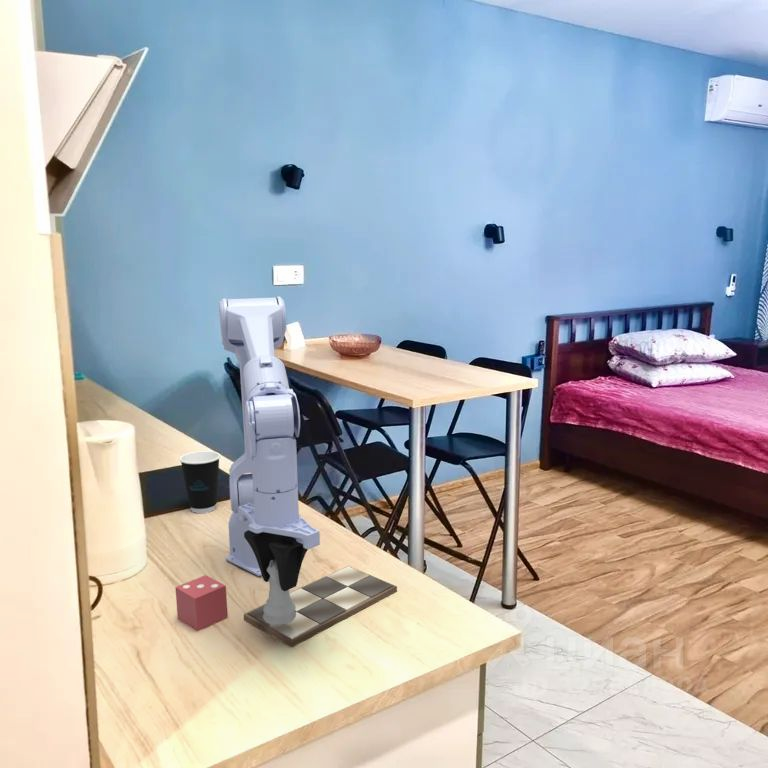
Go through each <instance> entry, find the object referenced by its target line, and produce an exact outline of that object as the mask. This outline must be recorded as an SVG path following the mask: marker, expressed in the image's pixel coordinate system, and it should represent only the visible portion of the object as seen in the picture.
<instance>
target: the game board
mask: <svg viewBox="0 0 768 768" xmlns="http://www.w3.org/2000/svg"><path fill="white" fill-rule="evenodd" d="M397 592H398V586H397V585H395V584H392V583H391V582H387V581H385V580H382V579H380V578H378V577H375V576H373V575H371V574H369V573H366V572H365V571H362V570H359V569H358V568H355V567H352V566H350V565H347V566H345V567H343V568H340V569H339V570H337V571H334V572H332V573H329V574H328V575H326V576H324V577H321V578H319V579H317V580H314V581H313V582H310V583H309V584H306V585H305V586H302V587H300V588H297V589H295V590H293V591H291V592H289V594H290V598H291V599H292V602H293V603H294V604H295V607H296V609H295V612H296V617H295V618H294V620H293V621H292V622H290V623H288V624H286V625H280V626H277V625H271V624H268V623H267V622H266V621H265V620H264V618H263V614H264V611H263V609H264V606H265V604H262V605H261V606H258V607H256V608H254V609H252V610H250V611H248V612H246V613H243V620H244V621H246V622H247V623H249V624H251V625H252V626H255V627H257V628H258V629H260V630H262V631H263V632H265V633H267V634H269V635H270V636H272V637H273V638H275V639H277V640H278V641H280V642H282V643H284V644H286V645H287V646H288V647H290V648H294V647H295V646H297V645H299V644H301V643H303V642H304V641H306V640H309V639H310V638H312V637H314V636H316V635H317V634H319V633H321V632H323V631H325V630H327V629H328V628H331V627H333V626H334V625H336V624H338V623H340V622H342V621H344V620H346V619H348V618H350V617H351V616H353V615H355V614H358V613H359V612H360V611H363V610H364V609H366V608H368V607H370V606H372V605H373V604H376V603H377V602H379V601H381V600H383V599H385V598H387V597H389V596H391V595H392V594H394V593H397Z"/></svg>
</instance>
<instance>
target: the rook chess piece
mask: <svg viewBox="0 0 768 768" xmlns="http://www.w3.org/2000/svg"><path fill="white" fill-rule="evenodd" d="M267 572H268V573H269V574H270V578H269V580H268V583H269V592H268V597H267V599H266V602H265V604H264V605H265V606H264V609H263V611H264V614H263V618H264V620H265V621H266V622H267V623H268V624H271V625H277V626H280V625H286V624H288V623H290V622H292V621H293V620H294V618H295V617H296V612H295V609H296V607H295V604H294V603H293V602H292V599H291V598H290V594H289V593H290V589H289V590H287V591H283V590H282V589H281V587H280V583H279V575H278V567H277V563H276V560H275V562H274V560H271V561H270V563H269V566H268V568H267Z"/></svg>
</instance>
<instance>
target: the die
mask: <svg viewBox="0 0 768 768" xmlns="http://www.w3.org/2000/svg"><path fill="white" fill-rule="evenodd" d="M174 588H175V599H176V600H175V601H176V612H177V613H176V615H177V620H179V621H180V622H182V623H183V624H184V625H186V626H188V627H189V628H191V629H192V630H195V631H196V632H200V631H202V630H204V629H207V628H208V627H211V626H212V625H215V624H217V623H219V622H221V621H224V620H225V619H227V618H228V617H229V614H228V601H227V600H228V598H227V597H228V596H227V586H226V585H225V584H224V583H221V582H220V581H218V580H216V579H214V578H212V577H211V576H208V575H207V574H204V575H202V576H200V577H197V578H195V579H192V580H190V581H187V582H185V583H183V584H179V585H178V586H175V587H174Z"/></svg>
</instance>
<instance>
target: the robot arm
mask: <svg viewBox="0 0 768 768" xmlns="http://www.w3.org/2000/svg"><path fill="white" fill-rule="evenodd" d="M218 306H219V307H218V309H219V311H218V312H219V326H220V327H219V328H220V335H221V344H222V345H223V350H224V351H228V352H230V353H233V354H235V357H236V359H237V362H238V365H239V373H240V376H239V377H240V390H241V391H240V393H241V406H242V407H241V408H242V423H243V438H244V439H243V440H244V453H243V454H241V456H240V457H239V458H237V459H236V460H235V461H233V463H232V464H231V465H230V468H229V471H228V472H229V479H228V480H229V481H228V484H229V486H228V487H229V499H230V509H231V511H232V512H231V515H230V517H229V520H228V539H229V555H228V556H225V560H226V561H228V562H229V563H231V564H234V565H235V566H238V567H240V568H241V569H243V570H246V571H248V572H250V573H251V574H254V575H256V576H258V577H262V580H263V582H266V583H269V581H268V580H269V578H270V574H269V573H268V572H267V568H268V566H269V563H270V561H271V560H274V562H275V560H276V563H277V567H278V575H279V583H280V587H281V589H282V590H283V591H287V590H289V591H290V590H291V589H294V588H295V587H297V584H298V579H299V576H300V571H301V567H302V564H303V561H304V559H305V556H306V554H307V553H308V550H311V549H313V548H315V547H318V546H320V544H321V541H320V540H321V539H320V536H321V535H320V530H319V529H316V528H314V527H313V526H312V525H311V524H310V523H309V522H308V521H307V520H306V519H305V518H304V517H303V516H301V514H300V511H299V510H300V509H299V507H300V506H299V487H298V486H299V485H298V484H299V483H298V481H299V480H298V460H297V458H298V456H297V453H298V452H297V440H296V438H299V436H300V430H301V414H300V412H301V411H300V405H299V402H298V398H297V394H296V393H295V392H294V390H293V388H290V386H289V380H288V375H287V370H286V367H285V364H284V362H283V361H282V360H281V359H280V358H278V357H276V356H275V350H277V349H279V348H281V346H282V343H283V342H284V338H285V334H286V332H287V312H286V310H287V309H286V304H285V301H284V299H283V298H282V297H281V296H280V295H279V296H276V297H256V298H255V297H251V298H250V297H249V298H222V299H221V300H220V301H219V305H218ZM294 434H295V436H294Z"/></svg>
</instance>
